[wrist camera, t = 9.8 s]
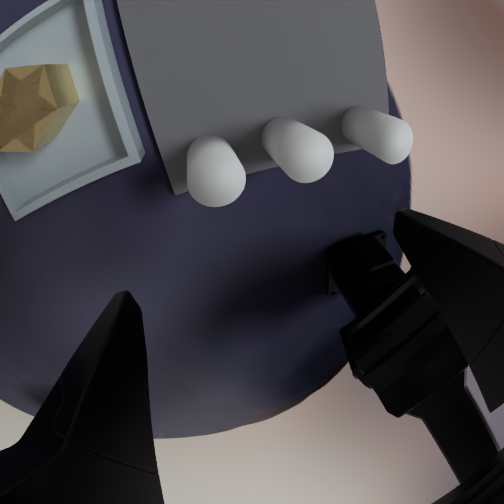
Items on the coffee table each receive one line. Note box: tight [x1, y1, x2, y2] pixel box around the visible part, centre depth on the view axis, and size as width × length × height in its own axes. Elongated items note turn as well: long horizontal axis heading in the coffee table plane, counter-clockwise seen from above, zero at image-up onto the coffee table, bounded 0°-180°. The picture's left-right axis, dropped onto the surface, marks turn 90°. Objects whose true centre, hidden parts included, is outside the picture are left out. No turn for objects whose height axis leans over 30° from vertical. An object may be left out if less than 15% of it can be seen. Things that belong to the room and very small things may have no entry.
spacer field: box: [117, 0, 413, 207], centre depth 11 cm, size 20×17×5 cm
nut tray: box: [0, 0, 145, 221], centre depth 11 cm, size 13×11×2 cm
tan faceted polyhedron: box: [0, 64, 80, 152], centre depth 10 cm, size 6×5×4 cm
